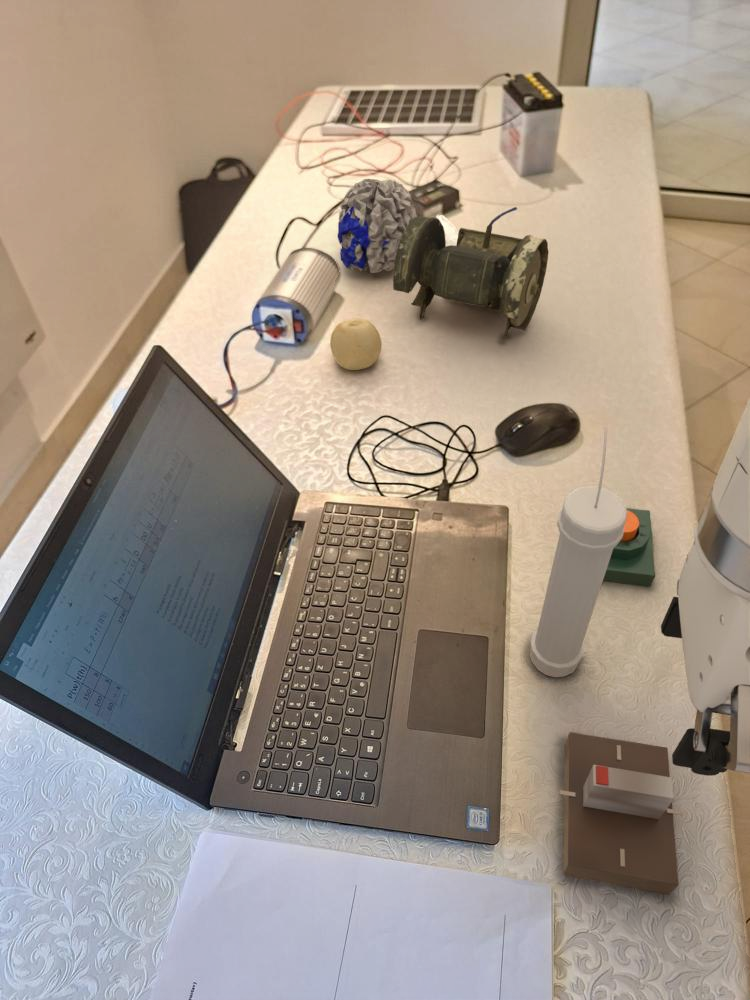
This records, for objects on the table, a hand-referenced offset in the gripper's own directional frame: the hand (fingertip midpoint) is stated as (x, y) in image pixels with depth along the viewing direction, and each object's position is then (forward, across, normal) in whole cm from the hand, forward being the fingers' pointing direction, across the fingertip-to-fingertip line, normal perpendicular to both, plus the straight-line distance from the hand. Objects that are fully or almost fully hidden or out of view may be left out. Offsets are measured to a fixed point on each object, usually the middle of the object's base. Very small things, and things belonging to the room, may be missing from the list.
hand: (689, 695), depth 49 cm
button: (+20, +32, 0) cm, 38 cm away
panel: (+24, 0, +1) cm, 24 cm away
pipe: (+24, +16, +6) cm, 30 cm away
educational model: (+23, +96, +41) cm, 107 cm away
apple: (+23, +64, +38) cm, 78 cm away
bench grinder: (+23, +79, +21) cm, 85 cm away
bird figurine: (+23, +100, +28) cm, 106 cm away
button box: (+24, +32, 0) cm, 40 cm away
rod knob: (+21, 0, +1) cm, 21 cm away
